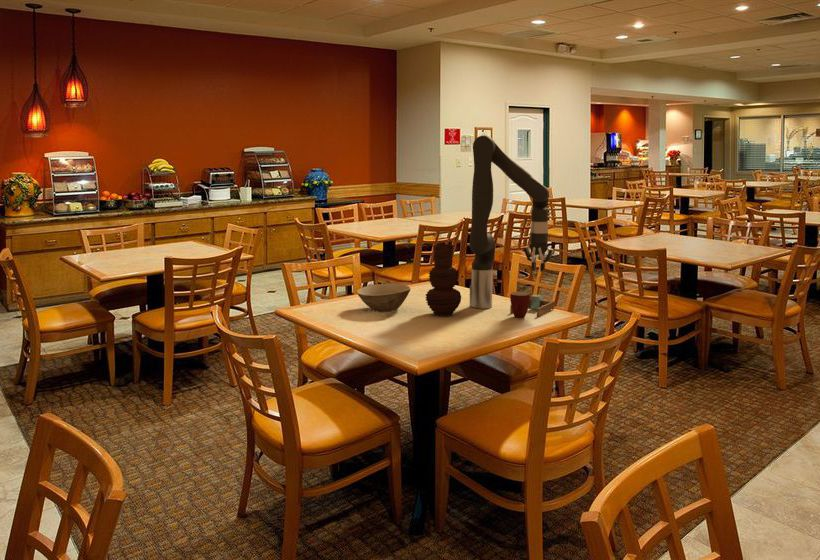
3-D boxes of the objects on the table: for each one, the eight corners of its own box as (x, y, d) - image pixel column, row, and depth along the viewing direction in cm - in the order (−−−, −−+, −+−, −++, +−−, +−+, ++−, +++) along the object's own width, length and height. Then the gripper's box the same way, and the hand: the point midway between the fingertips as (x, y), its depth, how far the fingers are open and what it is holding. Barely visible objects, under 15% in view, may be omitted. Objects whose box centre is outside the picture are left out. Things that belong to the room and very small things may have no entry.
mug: (527, 321, 282) (528, 297, 281) (508, 319, 284) (508, 296, 283) (530, 315, 292) (530, 292, 291) (511, 314, 294) (511, 291, 293)
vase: (417, 314, 295) (417, 245, 289) (441, 308, 306) (441, 241, 300) (445, 320, 284) (445, 248, 279) (468, 314, 295) (468, 244, 290)
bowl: (347, 313, 298) (347, 291, 296) (371, 302, 320) (370, 281, 318) (397, 318, 290) (397, 294, 288) (418, 306, 311) (418, 284, 309)
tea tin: (530, 309, 303) (531, 296, 302) (534, 307, 307) (534, 294, 305) (539, 310, 301) (539, 297, 300) (542, 308, 304) (543, 295, 303)
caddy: (510, 313, 296) (510, 305, 295) (526, 305, 310) (526, 298, 309) (538, 317, 289) (538, 308, 288) (553, 309, 303) (554, 301, 302)
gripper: (520, 231, 298) (519, 270, 301) (551, 233, 291) (550, 273, 294) (527, 229, 304) (526, 268, 308) (557, 231, 297) (556, 271, 300)
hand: (538, 270), depth 301 cm, fingers open, 3 cm apart
